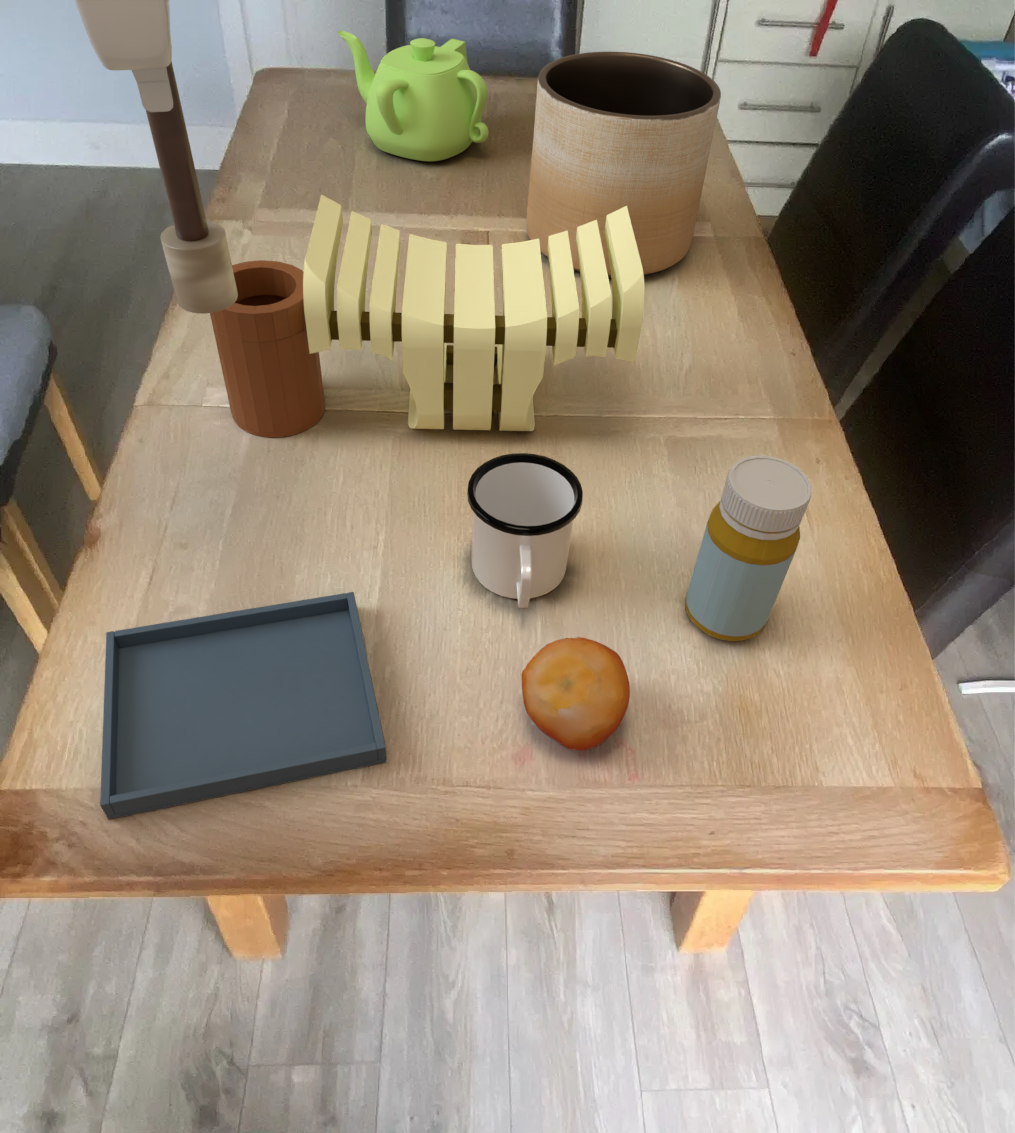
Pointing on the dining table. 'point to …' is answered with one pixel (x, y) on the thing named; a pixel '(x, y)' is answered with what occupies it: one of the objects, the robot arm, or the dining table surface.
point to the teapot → (421, 99)
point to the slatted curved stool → (473, 312)
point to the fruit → (576, 692)
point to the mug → (522, 524)
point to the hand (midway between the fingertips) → (159, 96)
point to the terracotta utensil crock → (269, 352)
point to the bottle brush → (189, 220)
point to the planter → (621, 150)
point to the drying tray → (235, 704)
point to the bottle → (747, 547)
